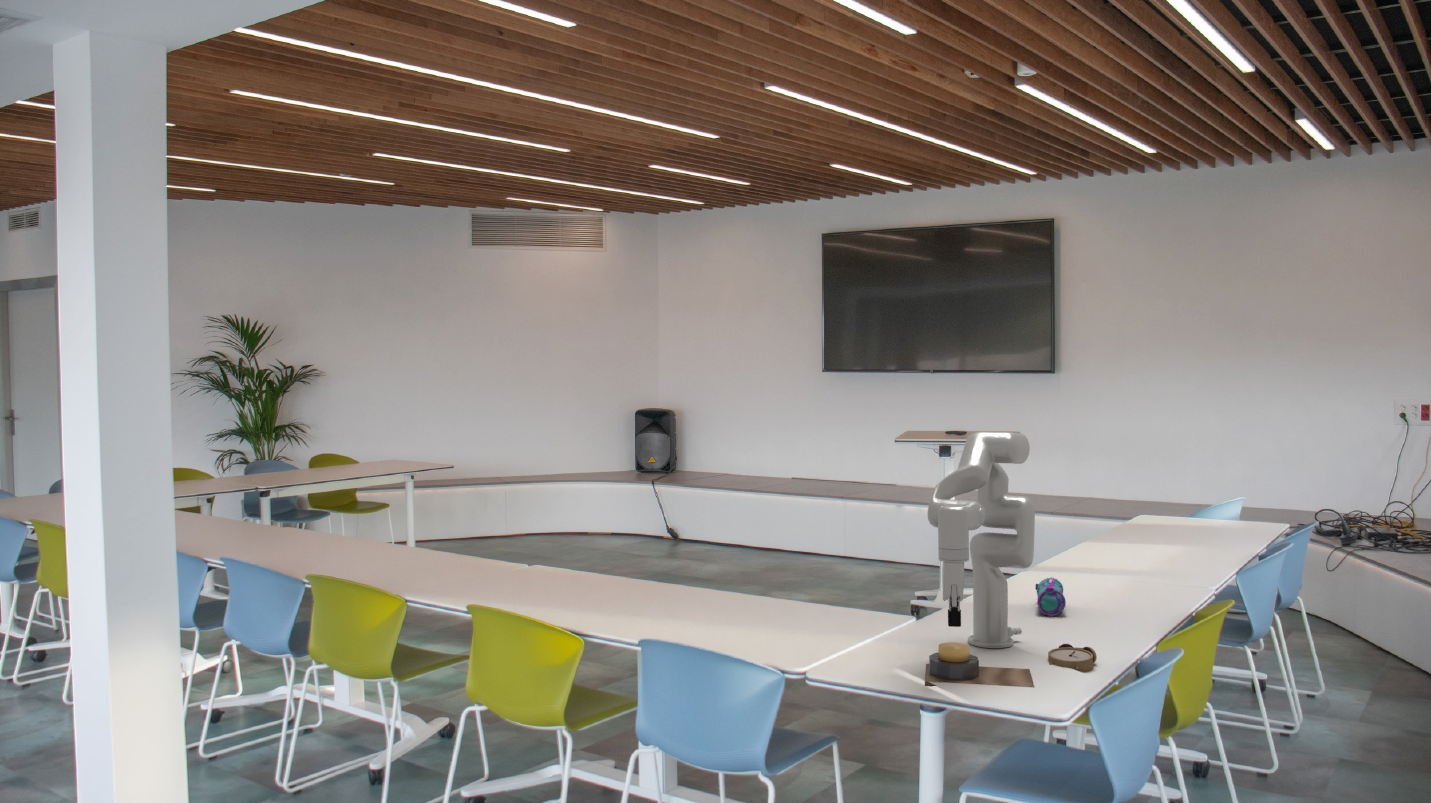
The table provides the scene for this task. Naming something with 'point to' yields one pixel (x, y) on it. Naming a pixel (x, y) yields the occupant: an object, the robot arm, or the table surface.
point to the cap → (953, 652)
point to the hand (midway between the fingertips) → (954, 625)
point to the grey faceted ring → (954, 668)
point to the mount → (991, 677)
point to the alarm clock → (1073, 657)
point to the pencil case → (1050, 596)
